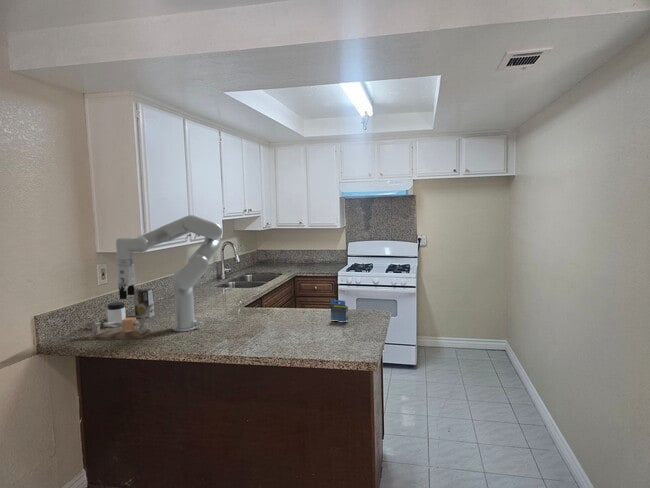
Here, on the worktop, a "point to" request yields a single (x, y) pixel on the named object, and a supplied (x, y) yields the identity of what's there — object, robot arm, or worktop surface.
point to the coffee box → (144, 303)
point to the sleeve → (128, 323)
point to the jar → (116, 312)
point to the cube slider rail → (116, 333)
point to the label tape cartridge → (339, 310)
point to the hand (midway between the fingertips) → (127, 296)
